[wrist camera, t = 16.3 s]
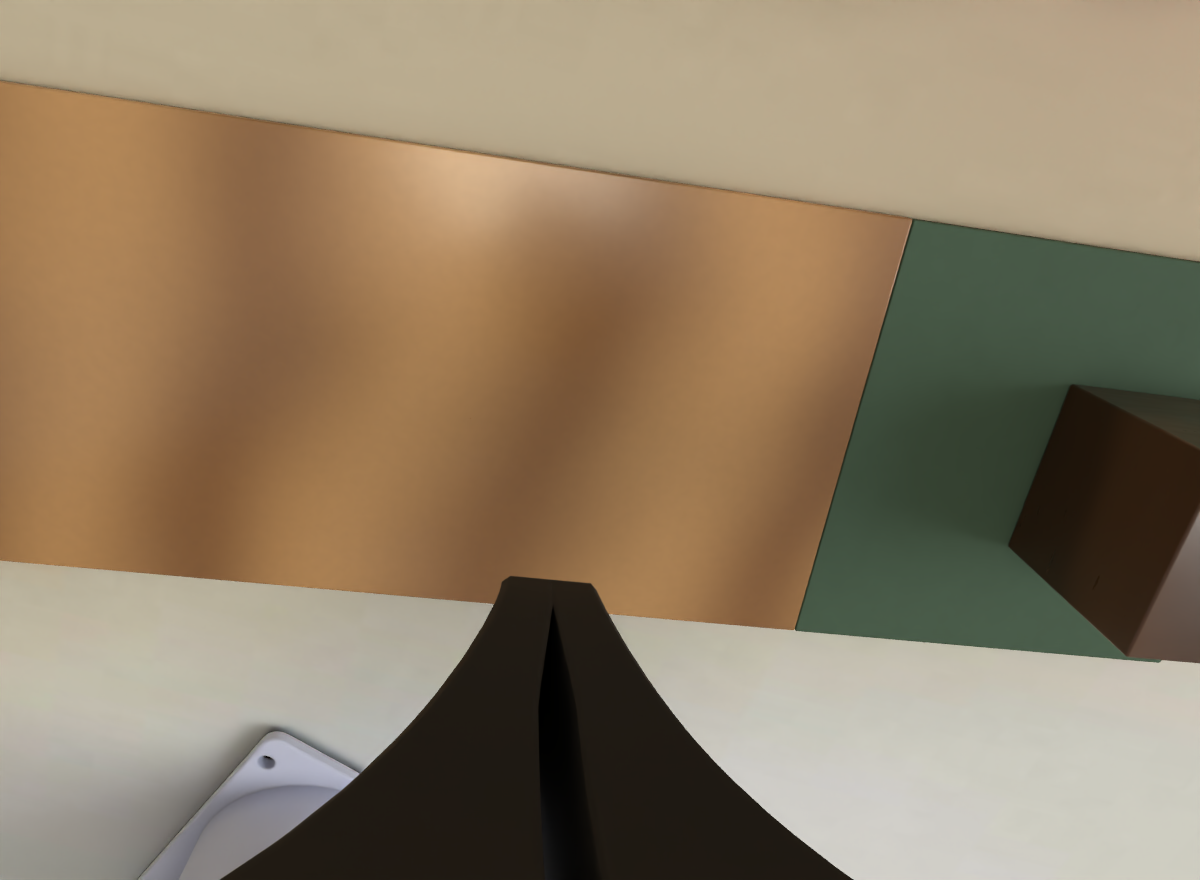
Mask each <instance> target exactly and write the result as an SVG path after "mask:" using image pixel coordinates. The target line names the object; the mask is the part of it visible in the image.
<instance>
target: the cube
mask: <svg viewBox="0 0 1200 880" xmlns="http://www.w3.org/2000/svg"><path fill="white" fill-rule="evenodd" d="M1008 546H1009V548H1010V549H1011V550H1012V551H1013V552H1014V553H1015V554H1017V555H1018V556H1019V557H1020V558H1021V559H1022V560H1023V561H1024V562H1025V563H1026V564H1027V565H1028V566H1029V567H1030V568H1032V569H1033V570H1034V571H1035V572H1036V573H1037V574H1038V575H1039V576H1040V577H1041V578H1042V579H1043V580H1044V581H1045V582H1047V583H1048V584H1049V585H1050V586H1051V587H1052V588H1053V589H1054V590H1055V591H1056V592H1057V593H1058V594H1059V595H1060V596H1062V597H1063V598H1064V599H1065V600H1066V601H1067V602H1068V603H1069V604H1070V605H1071V606H1072V607H1073V608H1074V609H1075V610H1077V611H1078V612H1079V613H1080V614H1081V615H1082V616H1083V617H1084V618H1085V619H1086V620H1087V621H1088V622H1089V623H1090V624H1092V625H1093V626H1094V627H1095V628H1096V629H1097V630H1098V631H1099V632H1100V633H1101V634H1102V635H1103V636H1104V637H1105V638H1107V639H1108V640H1109V641H1110V642H1111V643H1112V644H1113V645H1114V646H1115V647H1116V648H1117V649H1118V650H1119V651H1120V652H1122V653H1123V654H1124V655H1125V656H1127V657H1133V658H1145V659H1156V660H1168V661H1180V662H1192V663H1200V400H1196V399H1188V398H1180V397H1172V396H1164V395H1156V394H1148V393H1140V392H1132V391H1125V390H1117V389H1109V388H1101V387H1093V386H1085V385H1077V384H1072V385H1071V386H1070V389H1069V391H1068V394H1067V396H1066V399H1065V401H1064V404H1063V407H1062V409H1061V412H1060V414H1059V417H1058V419H1057V422H1056V424H1055V427H1054V430H1053V432H1052V435H1051V437H1050V440H1049V442H1048V445H1047V448H1046V450H1045V453H1044V455H1043V458H1042V460H1041V463H1040V465H1039V468H1038V471H1037V473H1036V476H1035V478H1034V481H1033V483H1032V486H1031V489H1030V491H1029V494H1028V496H1027V499H1026V501H1025V504H1024V506H1023V509H1022V512H1021V514H1020V517H1019V519H1018V522H1017V524H1016V527H1015V530H1014V532H1013V535H1012V537H1011V540H1010V542H1009V545H1008Z"/></svg>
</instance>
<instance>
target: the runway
mask: <svg viewBox="0 0 1200 880" xmlns="http://www.w3.org/2000/svg"><path fill="white" fill-rule="evenodd" d="M911 223H912V219H911V218H907V217H902V216H895V215H889V214H882V213H875V212H869V211H862V210H856V209H849V208H842V207H836V206H829V205H822V204H816V203H809V202H803V201H796V200H789V199H783V198H776V197H769V196H763V195H756V194H750V193H743V192H736V191H730V190H723V189H716V188H710V187H703V186H697V185H690V184H683V183H677V182H670V181H663V180H657V179H650V178H644V177H637V176H630V175H624V174H617V173H610V172H604V171H597V170H591V169H584V168H577V167H571V166H564V165H557V164H551V163H544V162H538V161H531V160H524V159H518V158H511V157H504V156H498V155H491V154H485V153H478V152H471V151H465V150H458V149H451V148H445V147H438V146H432V145H425V144H418V143H412V142H405V141H398V140H392V139H385V138H379V137H372V136H365V135H359V134H352V133H345V132H339V131H332V130H326V129H319V128H312V127H306V126H299V125H292V124H286V123H279V122H273V121H266V120H259V119H253V118H246V117H239V116H233V115H226V114H220V113H213V112H206V111H200V110H193V109H186V108H180V107H173V106H167V105H160V104H153V103H147V102H140V101H133V100H127V99H120V98H114V97H107V96H100V95H94V94H87V93H80V92H74V91H67V90H61V89H54V88H47V87H41V86H34V85H27V84H21V83H14V82H8V81H1V80H0V560H1V561H12V562H24V563H35V564H46V565H58V566H69V567H81V568H92V569H103V570H115V571H126V572H137V573H149V574H160V575H172V576H183V577H194V578H206V579H217V580H229V581H240V582H251V583H263V584H274V585H285V586H297V587H308V588H320V589H331V590H342V591H354V592H365V593H376V594H388V595H399V596H411V597H422V598H433V599H445V600H456V601H467V602H479V603H490V604H495V601H496V599H497V596H498V594H499V591H500V588H501V583H502V581H504V580H505V579H506V578H508V577H509V576H518V577H529V578H540V579H551V580H562V581H572V582H583V583H591V584H592V585H593V586H594V588H595V589H596V590H597V592H598V594H599V596H600V598H601V600H602V602H603V604H604V606H605V608H606V610H607V612H608V614H615V615H627V616H638V617H650V618H661V619H672V620H684V621H695V622H706V623H718V624H729V625H741V626H752V627H763V628H775V629H786V630H794V629H795V626H796V622H797V619H798V615H799V612H800V608H801V605H802V601H803V598H804V594H805V591H806V588H807V584H808V581H809V577H810V574H811V570H812V567H813V563H814V560H815V556H816V553H817V549H818V546H819V542H820V539H821V536H822V532H823V529H824V525H825V522H826V518H827V515H828V511H829V508H830V504H831V501H832V497H833V494H834V490H835V487H836V483H837V480H838V477H839V473H840V470H841V466H842V463H843V459H844V456H845V452H846V449H847V445H848V442H849V438H850V435H851V431H852V428H853V425H854V421H855V418H856V414H857V411H858V407H859V404H860V400H861V397H862V393H863V390H864V386H865V383H866V379H867V376H868V373H869V369H870V366H871V362H872V359H873V355H874V352H875V348H876V345H877V341H878V338H879V334H880V331H881V327H882V324H883V321H884V317H885V314H886V310H887V307H888V303H889V300H890V296H891V293H892V289H893V286H894V282H895V279H896V275H897V272H898V269H899V265H900V262H901V258H902V255H903V251H904V248H905V244H906V241H907V237H908V234H909V230H910V227H911Z"/></svg>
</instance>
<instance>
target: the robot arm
mask: <svg viewBox="0 0 1200 880" xmlns="http://www.w3.org/2000/svg"><path fill="white" fill-rule="evenodd" d="M264 756H269V757H271V758H272V759H268V758H265V757H264ZM137 880H853V879H852V878H850V877H849V876H847V875H846V874H844V873H843V872H842V871H840V870H839V869H838V868H836V867H835V866H833V865H832V864H831V863H830V862H828V861H827V860H826V859H824V858H823V857H822V856H821V855H819V854H818V853H817V852H815V851H814V850H813V849H812V848H810V847H809V846H808V845H806V844H805V843H804V842H803V841H801V840H800V839H799V838H798V837H796V836H795V835H794V834H793V833H791V832H790V831H789V830H788V829H787V828H785V827H784V826H783V825H782V824H781V823H779V822H778V821H777V820H776V819H775V818H774V817H772V816H771V815H770V814H769V813H768V812H767V811H765V810H764V809H763V808H762V807H761V806H760V805H759V804H758V803H757V802H756V801H755V800H754V799H752V798H751V797H750V796H749V795H748V794H747V793H746V792H745V791H744V790H743V789H742V788H741V787H740V786H738V785H737V784H736V783H735V782H734V781H733V780H732V779H731V778H730V777H729V776H728V775H727V774H726V773H725V772H724V771H723V770H722V769H721V768H720V767H719V766H718V765H717V764H716V763H715V762H714V761H713V760H712V759H711V757H710V756H709V755H708V754H707V753H706V752H705V751H704V750H703V749H702V747H701V746H700V745H699V744H698V743H697V742H696V741H695V740H694V739H693V737H692V736H691V735H690V734H689V733H688V731H687V730H686V729H685V728H684V727H683V725H682V724H681V723H680V722H679V720H678V719H677V718H676V717H675V715H674V714H673V713H672V711H671V710H670V709H669V707H668V706H667V705H666V703H665V702H664V701H663V699H662V698H661V697H660V695H659V694H658V693H657V691H656V690H655V688H654V687H653V685H652V684H651V683H650V681H649V680H648V678H647V677H646V675H645V674H644V672H643V671H642V669H641V668H640V666H639V664H638V663H637V661H636V660H635V658H634V657H633V655H632V654H631V652H630V651H629V649H628V647H627V646H626V644H625V642H624V641H623V639H622V637H621V636H620V634H619V632H618V630H617V629H616V627H615V625H614V623H613V622H612V620H611V618H610V616H609V614H608V612H607V610H606V608H605V606H604V604H603V602H602V600H601V598H600V596H599V594H598V592H597V590H596V589H595V588H594V586H593V585H592V584H591V583H583V582H572V581H562V580H551V579H540V578H529V577H518V576H509V577H508V578H506V579H505V580H504V581H502V583H501V588H500V591H499V594H498V596H497V599H496V601H495V604H494V606H493V608H492V610H491V612H490V614H489V615H488V617H487V619H486V621H485V623H484V625H483V627H482V628H481V630H480V631H479V633H478V635H477V636H476V638H475V639H474V641H473V643H472V644H471V646H470V647H469V649H468V650H467V652H466V654H465V655H464V657H463V658H462V660H461V661H460V662H459V664H458V665H457V666H456V668H455V669H454V670H453V672H452V673H451V674H450V676H449V677H448V678H447V680H446V681H445V682H444V684H443V685H442V686H441V688H440V689H439V690H438V692H437V693H436V694H435V696H434V697H433V698H432V699H431V700H430V702H429V703H428V704H427V705H426V706H425V708H424V709H423V710H422V711H421V712H420V713H419V715H418V716H417V717H416V718H415V719H414V720H413V721H412V722H411V723H410V725H409V726H408V727H407V728H406V729H405V730H404V731H403V732H402V733H401V734H400V735H399V736H398V737H397V738H396V739H395V741H394V742H393V743H392V744H390V745H389V746H388V747H387V748H386V749H385V750H384V751H383V752H382V753H381V754H380V755H379V756H378V757H377V758H376V759H375V760H374V761H373V762H372V763H371V764H370V765H369V766H368V767H367V768H366V769H365V770H364V771H363V772H361V773H358V772H356V771H355V770H353V769H351V768H349V767H347V766H345V765H344V764H342V763H340V762H338V761H336V760H334V759H333V758H331V757H329V756H327V755H325V754H323V753H322V752H320V751H318V750H316V749H314V748H313V747H311V746H309V745H307V744H305V743H303V742H302V741H300V740H298V739H296V738H294V737H292V736H291V735H289V734H287V733H284V732H278V731H274V732H271V733H268V734H267V735H265V736H264V737H263V738H262V739H261V741H260V742H259V743H258V744H257V745H256V746H255V747H254V749H253V750H252V751H251V752H250V753H249V754H248V755H247V756H246V758H245V759H244V760H243V761H242V762H241V763H240V764H239V765H238V767H237V768H236V769H235V770H234V771H233V772H232V773H231V774H230V776H229V777H228V778H227V779H226V780H225V781H224V782H223V783H222V785H221V786H220V787H219V788H218V789H217V790H216V791H215V793H214V794H213V795H212V796H211V797H210V798H209V799H208V800H207V802H206V803H205V804H204V805H203V806H202V807H201V808H200V809H199V811H198V812H197V813H196V814H195V815H194V816H193V817H192V818H191V820H190V821H189V822H188V823H187V824H186V825H185V826H184V827H183V829H182V830H181V831H180V832H179V833H178V834H177V835H176V837H175V838H174V839H173V840H172V841H171V842H170V843H169V844H168V846H167V847H166V848H165V849H164V850H163V851H162V852H161V853H160V855H159V856H158V857H157V858H156V859H155V860H154V861H153V862H152V864H151V865H150V866H149V867H148V868H147V869H146V870H145V872H144V873H143V874H142V875H141V876H140V877H139V878H138V879H137Z"/></svg>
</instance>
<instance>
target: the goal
mask: <svg viewBox="0 0 1200 880" xmlns="http://www.w3.org/2000/svg"><path fill="white" fill-rule="evenodd" d="M1072 384H1077V385H1085V386H1093V387H1101V388H1109V389H1117V390H1125V391H1132V392H1140V393H1148V394H1156V395H1164V396H1172V397H1180V398H1188V399H1196V400H1200V262H1196V261H1190V260H1183V259H1176V258H1170V257H1163V256H1157V255H1150V254H1143V253H1137V252H1130V251H1123V250H1117V249H1110V248H1104V247H1097V246H1090V245H1084V244H1077V243H1070V242H1064V241H1057V240H1051V239H1044V238H1037V237H1031V236H1024V235H1017V234H1011V233H1004V232H997V231H991V230H984V229H978V228H971V227H964V226H958V225H951V224H944V223H938V222H931V221H925V220H918V219H912V223H911V227H910V230H909V234H908V237H907V241H906V244H905V248H904V251H903V255H902V258H901V262H900V265H899V269H898V272H897V275H896V279H895V282H894V286H893V289H892V293H891V296H890V300H889V303H888V307H887V310H886V314H885V317H884V321H883V324H882V327H881V331H880V334H879V338H878V341H877V345H876V348H875V352H874V355H873V359H872V362H871V366H870V369H869V373H868V376H867V379H866V383H865V386H864V390H863V393H862V397H861V400H860V404H859V407H858V411H857V414H856V418H855V421H854V425H853V428H852V431H851V435H850V438H849V442H848V445H847V449H846V452H845V456H844V459H843V463H842V466H841V470H840V473H839V477H838V480H837V483H836V487H835V490H834V494H833V497H832V501H831V504H830V508H829V511H828V515H827V518H826V522H825V525H824V529H823V532H822V536H821V539H820V542H819V546H818V549H817V553H816V556H815V560H814V563H813V567H812V570H811V574H810V577H809V581H808V584H807V588H806V591H805V594H804V598H803V601H802V605H801V608H800V612H799V615H798V619H797V622H796V626H795V630H796V631H804V632H816V633H827V634H839V635H850V636H861V637H873V638H884V639H896V640H907V641H918V642H930V643H941V644H952V645H964V646H975V647H987V648H998V649H1009V650H1021V651H1032V652H1044V653H1055V654H1066V655H1078V656H1089V657H1100V658H1112V659H1123V660H1135V661H1146V662H1157V663H1159V662H1161V660H1156V659H1145V658H1133V657H1127V656H1125V655H1124V654H1123V653H1122V652H1120V651H1119V650H1118V649H1117V648H1116V647H1115V646H1114V645H1113V644H1112V643H1111V642H1110V641H1109V640H1108V639H1107V638H1105V637H1104V636H1103V635H1102V634H1101V633H1100V632H1099V631H1098V630H1097V629H1096V628H1095V627H1094V626H1093V625H1092V624H1090V623H1089V622H1088V621H1087V620H1086V619H1085V618H1084V617H1083V616H1082V615H1081V614H1080V613H1079V612H1078V611H1077V610H1075V609H1074V608H1073V607H1072V606H1071V605H1070V604H1069V603H1068V602H1067V601H1066V600H1065V599H1064V598H1063V597H1062V596H1060V595H1059V594H1058V593H1057V592H1056V591H1055V590H1054V589H1053V588H1052V587H1051V586H1050V585H1049V584H1048V583H1047V582H1045V581H1044V580H1043V579H1042V578H1041V577H1040V576H1039V575H1038V574H1037V573H1036V572H1035V571H1034V570H1033V569H1032V568H1030V567H1029V566H1028V565H1027V564H1026V563H1025V562H1024V561H1023V560H1022V559H1021V558H1020V557H1019V556H1018V555H1017V554H1015V553H1014V552H1013V551H1012V550H1011V549H1010V548H1009V546H1008V545H1009V542H1010V540H1011V537H1012V535H1013V532H1014V530H1015V527H1016V524H1017V522H1018V519H1019V517H1020V514H1021V512H1022V509H1023V506H1024V504H1025V501H1026V499H1027V496H1028V494H1029V491H1030V489H1031V486H1032V483H1033V481H1034V478H1035V476H1036V473H1037V471H1038V468H1039V465H1040V463H1041V460H1042V458H1043V455H1044V453H1045V450H1046V448H1047V445H1048V442H1049V440H1050V437H1051V435H1052V432H1053V430H1054V427H1055V424H1056V422H1057V419H1058V417H1059V414H1060V412H1061V409H1062V407H1063V404H1064V401H1065V399H1066V396H1067V394H1068V391H1069V389H1070V386H1071V385H1072Z"/></svg>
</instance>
